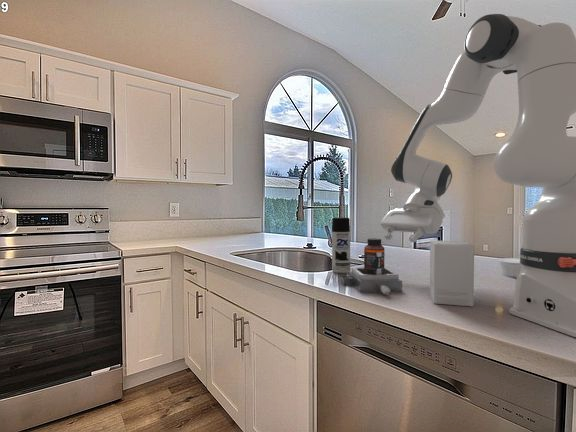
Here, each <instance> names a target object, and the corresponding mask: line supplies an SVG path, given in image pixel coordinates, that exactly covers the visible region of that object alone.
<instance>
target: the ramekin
mask: <svg viewBox="0 0 576 432" xmlns="http://www.w3.org/2000/svg"><path fill="white" fill-rule="evenodd" d="M498 263H499V264H500V270H501V274H503V275H504V276H505V277H509V278H515V279H517V276H518V275H519V273H520V271H521V268H522V264H521V263H520V257H519V258H517V257H504V258H503V257H502V258H499V260H498Z"/></svg>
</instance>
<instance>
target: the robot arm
mask: <svg viewBox="0 0 576 432" xmlns="http://www.w3.org/2000/svg"><path fill="white" fill-rule="evenodd" d="M501 72H502V73H503V74H504V75H511V74H516V75H517V90H518V91H517V94H518V95H517V96H518V118H517V122H516V125H515V128H514V130H513V133H512V134H511V136H510V137H509V138H508V140H506V141H504V143H502V145H500V147H499V148H498V149H497V151H496V154H495V156H494V163H493V166H494V171H495V173H496V176H497V177H498V178H499V180H501V181H503V182H504V183H508V184H512V185H515V186H520V187H525V188H542V190H541V192H540V195H539V197H538V200H537V202H536V203H535V204H534V205H533V206H532V207H530V208H529V209H527V211H526V212H525V213H524V215H523V217H522V247H521V248H520V252H519V258H520V263H521V264H522V268H521V271H520V273H519V275H518V276H517V278H516V282H515V290H514V297H513V305H512V306H511V307H509V311H508V313H509V314H511V315H513V316H516V317H518V318H521V319H525V320H527V321H530V322H531V323H535V324H538V325H540V326H543V327H546V328H548V329H551V330H553V331H557V332H559V333H563V334H565V335H568V336H571V337H573V338H576V136H568V134H567V127H568V123H569V120H570V117H571V116H573V115H574V114H575V113H576V36H575V33H574V31H573V29H572V27H571V26H570V25H568V24H567V23H563V22H550V23H546V24H543V25H542V24H536V23H534V22H531V21H530V20H529V21H528V20H526V19H525V18H521V17H516V16H511V15H510V16H509V15H505V14H501V13H490V14H486V15H483V16H481V17H479V18H478V19H477V20H475V21H474V23H473V24H472V25H471V26H470V28H469V29H468V30H467V33H466V35H465V38H464V42H463V52H462V53H460V55H459V56H458V57H457V59H456V60H455V63H454V65H453V67H452V69H451V71H450V72H449V74H448V77H447V79H446V81H445V83H444V87H443V89H442V92H441V93H440V95H439V97H438V98H437V99H436V100H435V101H434V102H433V103H429V104H428V105H426V106H425V108H424V109H423V110H422V111H421V113H420V115H419V117H418V118H417V120H416V122H415V124H414V125H413V127H412V129H411V131H410V133H409V134H408V137H406V141H405V142H404V144H403V146H402V148H401V149H400V151H399V153H398V154H397V156H396V158H395V159H394V160H393V163H392V165H391V169H390V172H391V175H392V177H393V178H394V179H395V181H396V182H401V183H404V184H409V185H411V186H414V189H413V192H412V193H411V194H410V195H409V197H408V198H407V200H406V201H405V203H404V205H403V206H402V208H394V209H391V210H389V211H388V212H387V213H386V214H385V216H384V217H383V218H382V220H380V226H381V227H382V229H383V230H384V231H385V235H384V239H385V240H387V241H388V240H389V241H391V240H392V238H393V235H392V233H393V232H402V233H403V232H404V233H413V234H410V235H409V237H408V241H410V243H416V242H417V240H418V239H420V238H421V237H423V236H424V235H425V234H428V235H429V234H430V235H434V234H436V233H438V232H439V230H440V228H441V226H442V224H443V219H444V218H445V216H446V215H445V213H444V211H443V209H442V207H441V205H440V204H439V203H438V201H439V200H440V199H441V197H442V196H443V195H444V194H445V193H446V192H447V190H448V188H449V186H450V184H451V182H452V179H453V172H452V170H451V167H450V166H449V164H446V163H445V162H442V161H438V160H435V159H430V158H427V157H423V156H420V155H418V154H417V150H418V148H419V147H420V144H421V143H422V140H423V139H424V137H425V136H426V134H427V132H428V131H429V130H430V129H431V128H433V127H437V126H440V125H450V124H458V123H461V122H465V121H466V120H468V119H470V118H472V117H473V116H475V114H476V113H477V112H478V110H479V108H480V107H481V105H482V103H483V101H484V98H485V96H486V94H487V90H488V88H489V85H490V83H491V81H492V80H493V78H494V77H495V76H496V75H497V74H499V73H501Z"/></svg>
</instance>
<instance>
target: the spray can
mask: <svg viewBox="0 0 576 432" xmlns="http://www.w3.org/2000/svg"><path fill="white" fill-rule="evenodd" d="M331 221H332V222H331V254H332V255H331V261H332V262H331V265H332V269H331V270H332V272H333V273H334V274H349V272H350V271H352V267H351V225H350V224H351V223H350V217H332V220H331Z"/></svg>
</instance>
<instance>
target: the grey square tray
mask: <svg viewBox="0 0 576 432" xmlns="http://www.w3.org/2000/svg"><path fill="white" fill-rule="evenodd" d="M340 279H341V280H340V282H341V284H342V286H354V287H355V289H356V290H357V291H358V292H359V293H382V294H383V295H385V296H388V295H390V294H391V293H395V292H399V293H401V292H403V280H401V279H400V278H399V273H397V272H395V271H393V270H391V269H390V268H388V267H385V266H384V274H364V267H351V270H350V272H349V273H348V275H341V278H340Z"/></svg>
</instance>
